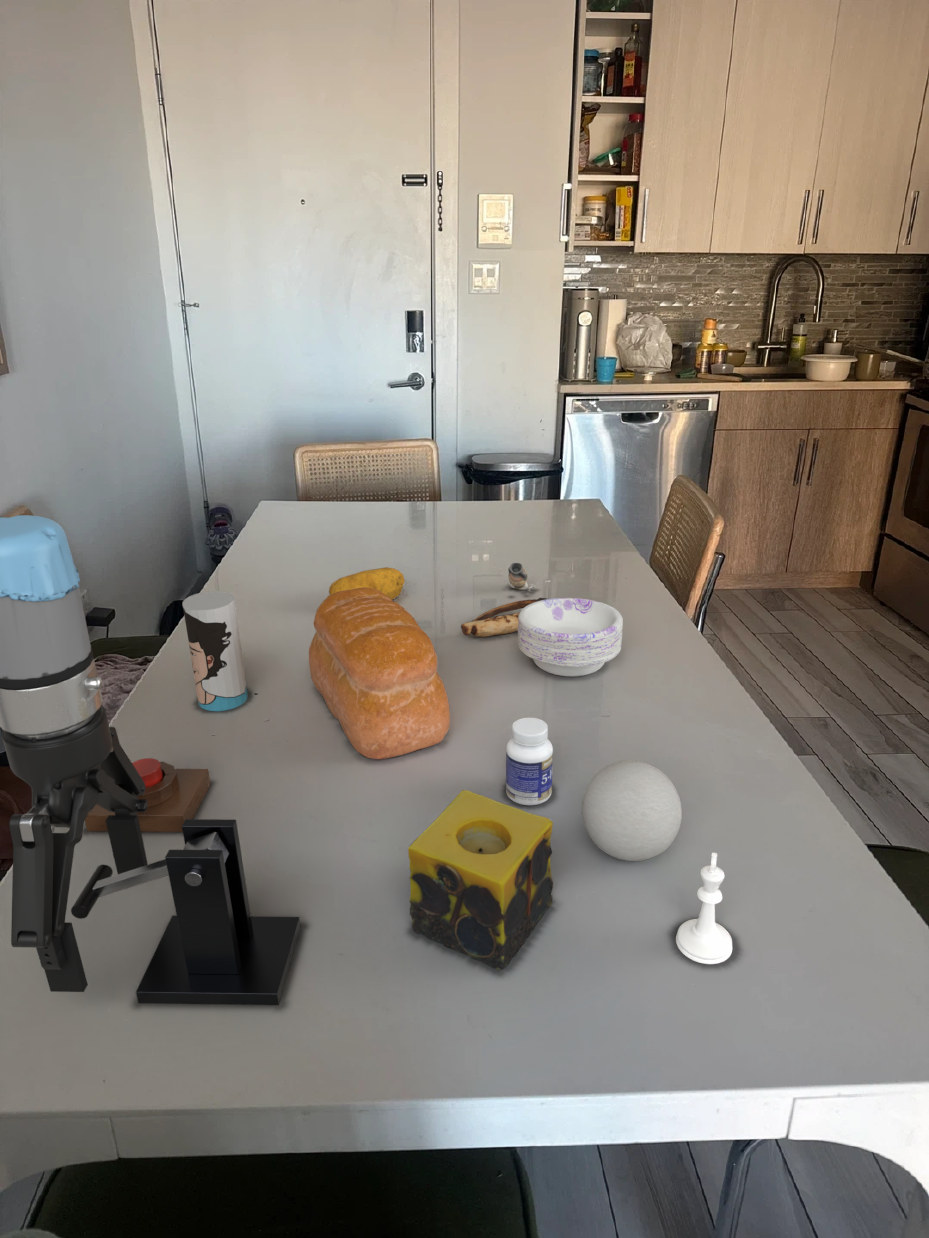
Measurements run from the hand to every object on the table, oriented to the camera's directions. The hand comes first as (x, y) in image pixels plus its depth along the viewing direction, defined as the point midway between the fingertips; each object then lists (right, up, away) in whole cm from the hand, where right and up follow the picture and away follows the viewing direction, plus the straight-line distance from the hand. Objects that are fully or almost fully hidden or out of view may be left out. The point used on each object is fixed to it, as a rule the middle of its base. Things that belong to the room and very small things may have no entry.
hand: (104, 926), depth 76 cm
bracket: (+10, -4, +1) cm, 11 cm away
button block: (-4, +6, +23) cm, 24 cm away
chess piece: (+53, -2, +2) cm, 53 cm away
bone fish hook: (+39, +25, +66) cm, 81 cm away
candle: (+33, -1, +6) cm, 34 cm away
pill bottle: (+39, +7, +24) cm, 46 cm away
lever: (+6, +5, -2) cm, 8 cm away
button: (-4, +9, +21) cm, 24 cm away
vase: (+41, +32, +80) cm, 95 cm away
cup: (-2, +16, +46) cm, 48 cm away
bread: (+20, +14, +42) cm, 49 cm away
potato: (+15, +29, +75) cm, 82 cm away
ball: (+49, +3, +14) cm, 51 cm away
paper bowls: (+47, +20, +54) cm, 74 cm away
